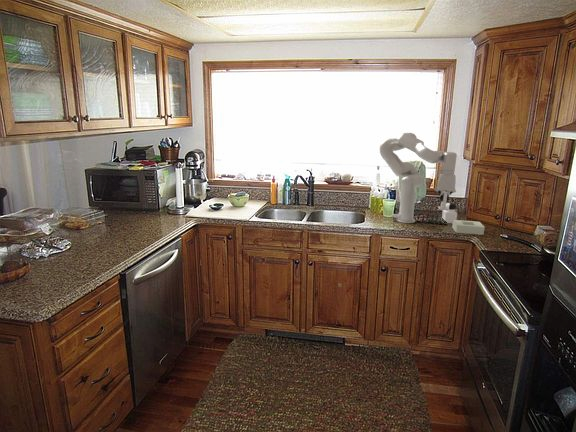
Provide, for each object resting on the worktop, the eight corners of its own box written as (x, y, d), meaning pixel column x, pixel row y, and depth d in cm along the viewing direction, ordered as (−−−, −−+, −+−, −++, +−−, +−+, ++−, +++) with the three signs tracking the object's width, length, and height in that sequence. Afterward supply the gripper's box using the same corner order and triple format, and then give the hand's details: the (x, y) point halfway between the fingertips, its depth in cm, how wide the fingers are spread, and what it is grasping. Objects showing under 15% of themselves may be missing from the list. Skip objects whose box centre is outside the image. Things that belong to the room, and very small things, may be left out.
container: (452, 220, 277) (455, 202, 274) (456, 223, 269) (458, 205, 266) (441, 220, 278) (443, 202, 274) (444, 223, 270) (446, 204, 267)
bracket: (439, 209, 251) (441, 192, 248) (437, 207, 256) (440, 190, 254) (447, 210, 250) (450, 193, 247) (446, 208, 255) (448, 191, 253)
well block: (456, 232, 248) (457, 225, 247) (452, 227, 261) (453, 219, 259) (483, 234, 245) (484, 227, 244) (478, 229, 258) (479, 221, 256)
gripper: (435, 172, 245) (431, 201, 250) (462, 174, 242) (458, 203, 247) (433, 170, 252) (429, 199, 257) (460, 172, 249) (456, 201, 254)
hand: (443, 201), depth 252 cm, fingers closed on bracket
